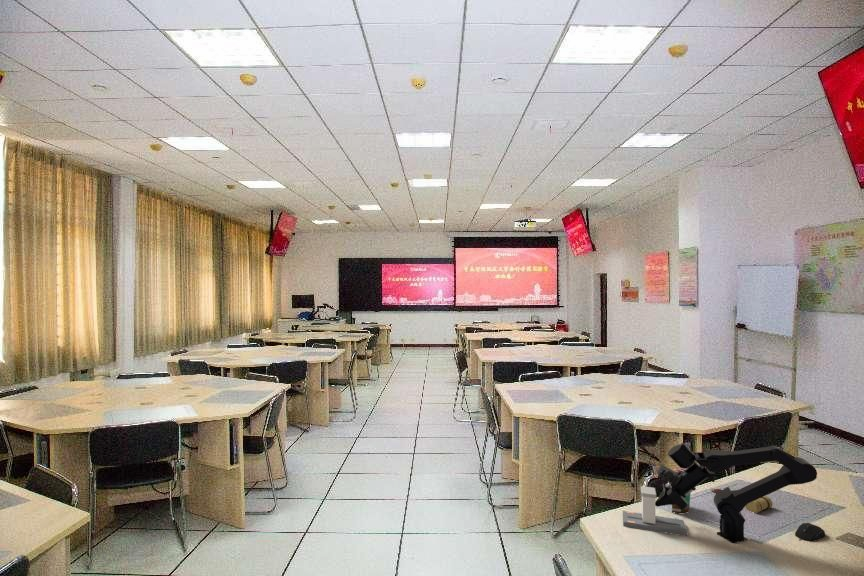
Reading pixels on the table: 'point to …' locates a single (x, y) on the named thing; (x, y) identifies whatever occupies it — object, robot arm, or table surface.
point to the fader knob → (648, 504)
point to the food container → (678, 510)
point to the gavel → (756, 503)
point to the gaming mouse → (809, 532)
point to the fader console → (660, 523)
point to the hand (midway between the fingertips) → (655, 505)
